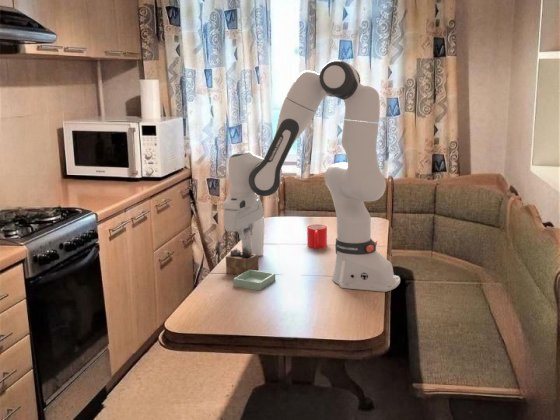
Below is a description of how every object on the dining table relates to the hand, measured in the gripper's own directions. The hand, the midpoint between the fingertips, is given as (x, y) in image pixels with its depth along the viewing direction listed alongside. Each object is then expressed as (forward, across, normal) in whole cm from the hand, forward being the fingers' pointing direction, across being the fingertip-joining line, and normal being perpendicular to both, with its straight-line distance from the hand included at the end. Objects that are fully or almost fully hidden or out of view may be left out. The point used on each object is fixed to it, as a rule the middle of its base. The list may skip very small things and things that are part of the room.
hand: (246, 237), depth 202 cm
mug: (+14, -38, +9) cm, 41 cm away
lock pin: (+7, 0, 0) cm, 7 cm away
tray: (+13, +9, +8) cm, 17 cm away
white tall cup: (+13, -19, -8) cm, 24 cm away
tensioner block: (+13, 0, -2) cm, 13 cm away
